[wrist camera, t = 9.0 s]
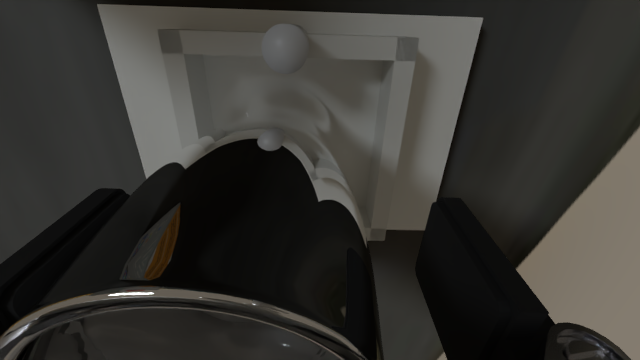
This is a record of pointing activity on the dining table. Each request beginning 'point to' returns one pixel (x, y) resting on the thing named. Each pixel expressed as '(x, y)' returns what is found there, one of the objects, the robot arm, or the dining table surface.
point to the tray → (311, 75)
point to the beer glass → (222, 255)
